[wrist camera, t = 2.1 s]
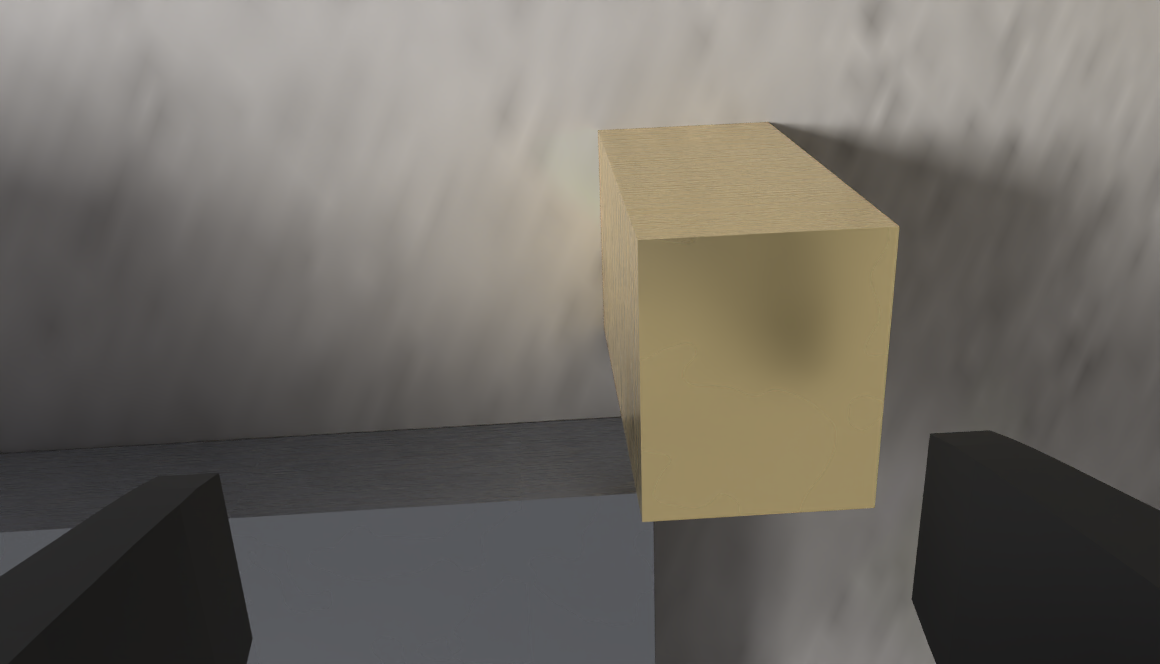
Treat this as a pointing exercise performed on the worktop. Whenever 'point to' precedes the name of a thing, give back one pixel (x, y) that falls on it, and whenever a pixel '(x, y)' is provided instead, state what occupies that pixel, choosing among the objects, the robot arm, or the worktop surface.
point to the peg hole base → (397, 538)
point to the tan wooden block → (743, 321)
